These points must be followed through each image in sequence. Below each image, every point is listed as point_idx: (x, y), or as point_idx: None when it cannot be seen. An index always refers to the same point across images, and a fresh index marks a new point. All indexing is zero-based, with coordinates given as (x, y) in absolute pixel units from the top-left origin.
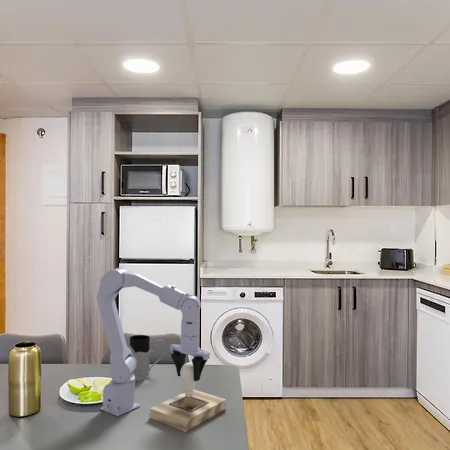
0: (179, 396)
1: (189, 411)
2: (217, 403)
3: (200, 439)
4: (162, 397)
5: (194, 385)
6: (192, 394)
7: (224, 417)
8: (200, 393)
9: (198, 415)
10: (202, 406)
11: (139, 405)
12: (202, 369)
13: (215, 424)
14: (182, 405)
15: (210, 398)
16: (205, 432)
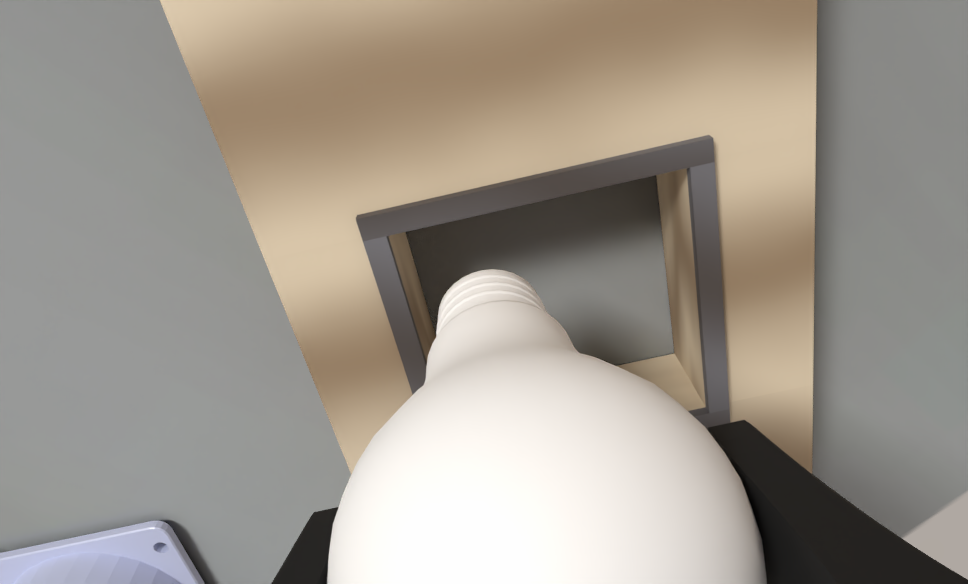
0: (318, 299)
1: (706, 425)
2: (802, 54)
3: (926, 449)
4: (31, 270)
5: (570, 343)
6: (542, 303)
7: (877, 47)
8: (387, 12)
9: (806, 387)
10: (717, 257)
11: (168, 535)
12: (907, 546)
13: (887, 224)
14: (415, 283)
15: (623, 17)
16: (897, 369)
